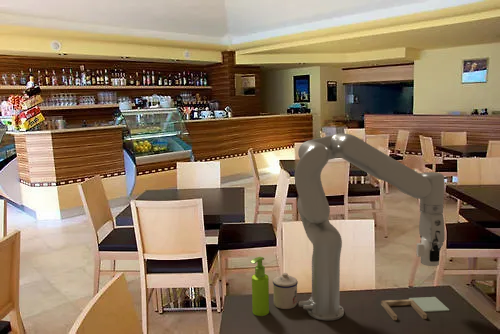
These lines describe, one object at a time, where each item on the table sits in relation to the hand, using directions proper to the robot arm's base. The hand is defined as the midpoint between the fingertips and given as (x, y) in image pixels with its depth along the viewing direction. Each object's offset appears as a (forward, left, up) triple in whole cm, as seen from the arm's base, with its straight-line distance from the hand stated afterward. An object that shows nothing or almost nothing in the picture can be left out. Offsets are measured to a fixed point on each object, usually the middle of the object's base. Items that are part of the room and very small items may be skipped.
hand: (429, 257), depth 146 cm
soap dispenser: (-61, 0, -18) cm, 63 cm away
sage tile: (0, 0, -18) cm, 18 cm away
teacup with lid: (-51, +7, -18) cm, 54 cm away
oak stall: (-11, -4, -18) cm, 21 cm away
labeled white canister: (0, 0, -2) cm, 2 cm away
